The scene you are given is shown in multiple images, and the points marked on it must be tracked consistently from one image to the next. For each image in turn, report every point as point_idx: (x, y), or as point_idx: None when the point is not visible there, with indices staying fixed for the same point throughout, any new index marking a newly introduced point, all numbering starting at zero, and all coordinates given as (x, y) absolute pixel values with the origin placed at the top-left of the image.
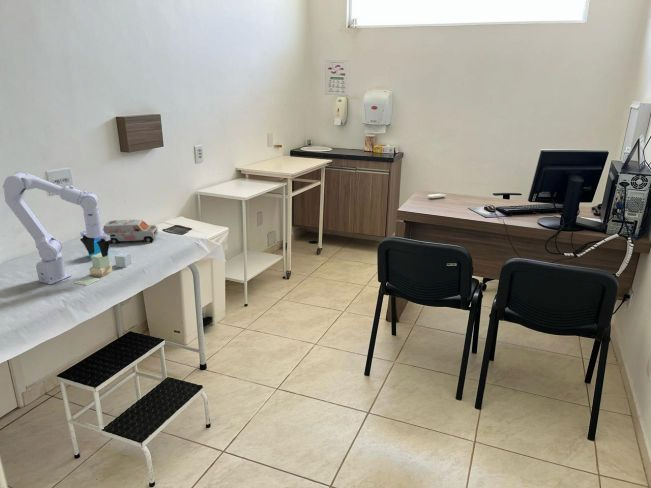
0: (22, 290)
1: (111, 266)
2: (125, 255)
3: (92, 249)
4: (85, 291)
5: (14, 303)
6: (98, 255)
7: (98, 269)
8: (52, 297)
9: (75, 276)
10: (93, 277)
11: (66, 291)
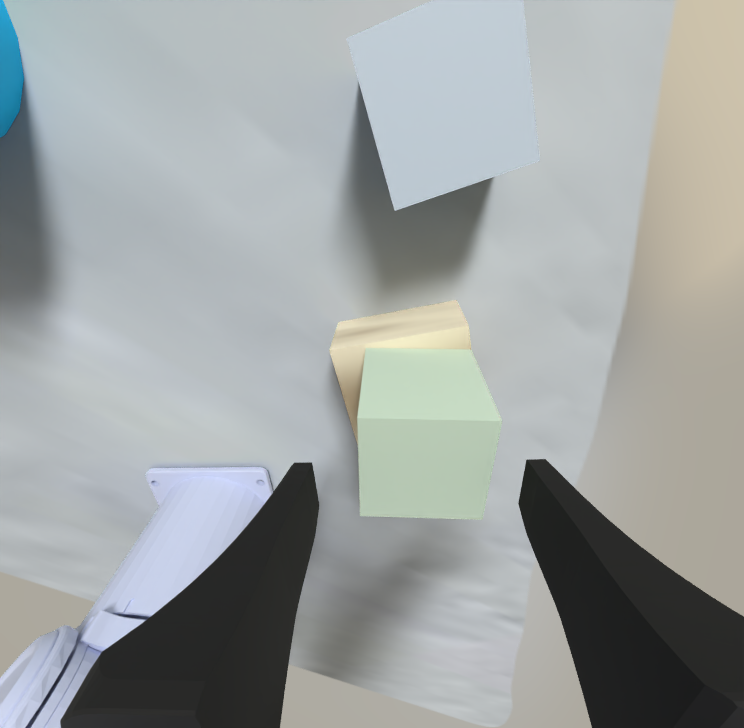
0: None
1: (466, 322)
2: (521, 106)
3: (301, 513)
4: (530, 548)
5: (345, 667)
6: (422, 481)
7: None
8: (432, 615)
9: (288, 457)
10: None
11: (435, 573)
